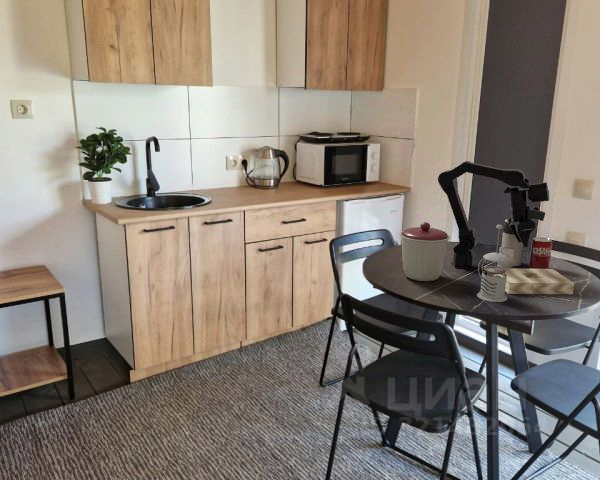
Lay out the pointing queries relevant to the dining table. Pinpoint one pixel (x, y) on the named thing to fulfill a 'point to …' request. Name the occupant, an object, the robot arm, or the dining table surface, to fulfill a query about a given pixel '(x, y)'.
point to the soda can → (540, 253)
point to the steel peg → (509, 253)
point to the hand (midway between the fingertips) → (522, 244)
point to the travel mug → (512, 244)
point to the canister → (423, 252)
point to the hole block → (536, 282)
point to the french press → (493, 277)
